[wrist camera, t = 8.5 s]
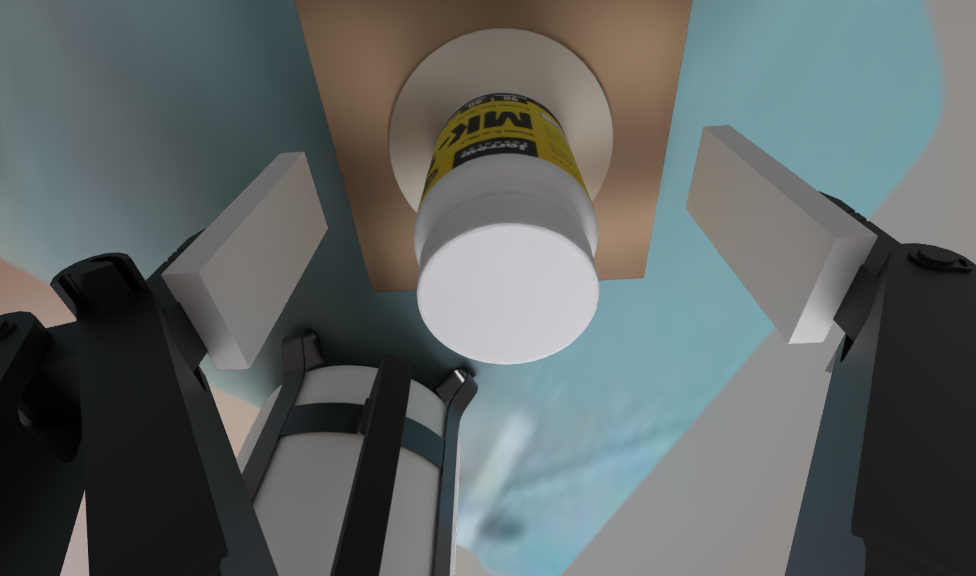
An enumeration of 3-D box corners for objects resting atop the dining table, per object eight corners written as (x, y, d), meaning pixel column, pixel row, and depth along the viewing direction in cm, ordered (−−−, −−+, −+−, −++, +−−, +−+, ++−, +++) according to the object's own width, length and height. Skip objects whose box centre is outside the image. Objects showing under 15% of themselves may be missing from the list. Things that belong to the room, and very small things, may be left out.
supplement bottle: (527, 58, 15) (564, 154, 8) (587, 177, 17) (654, 329, 10) (407, 135, 16) (351, 273, 9) (478, 235, 19) (474, 401, 12)
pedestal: (315, -40, 16) (282, -36, 13) (670, -66, 15) (706, -68, 13) (384, 255, 23) (371, 294, 20) (626, 242, 22) (645, 280, 20)
